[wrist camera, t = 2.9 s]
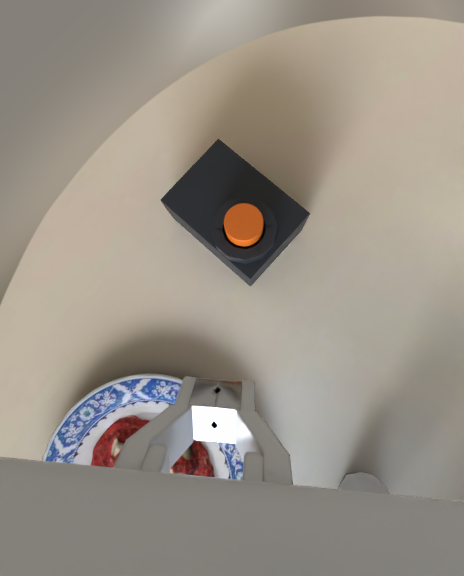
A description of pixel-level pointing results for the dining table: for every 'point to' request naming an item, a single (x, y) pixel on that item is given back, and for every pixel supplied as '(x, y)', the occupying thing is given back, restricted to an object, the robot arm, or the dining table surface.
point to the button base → (225, 194)
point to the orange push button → (243, 224)
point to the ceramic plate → (132, 428)
